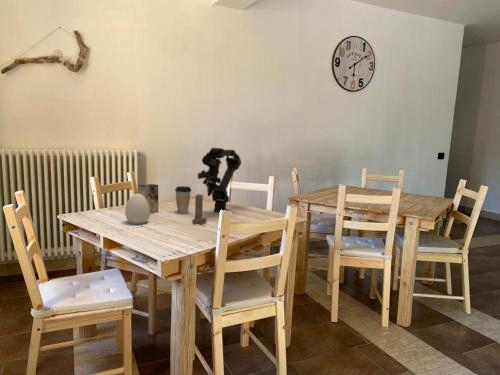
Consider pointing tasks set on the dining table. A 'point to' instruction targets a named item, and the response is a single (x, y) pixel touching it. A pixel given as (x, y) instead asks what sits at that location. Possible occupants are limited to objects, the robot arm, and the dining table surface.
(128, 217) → the decorative egg
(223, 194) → the robot arm
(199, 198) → the stand
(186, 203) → the coffee cup
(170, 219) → the dining table surface
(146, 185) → the coffee box
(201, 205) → the block
